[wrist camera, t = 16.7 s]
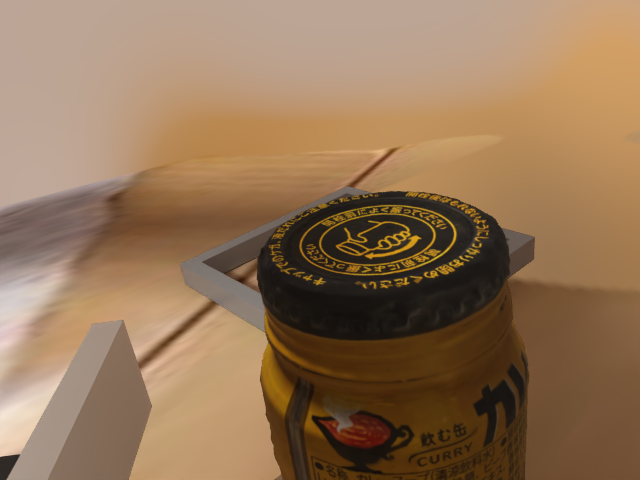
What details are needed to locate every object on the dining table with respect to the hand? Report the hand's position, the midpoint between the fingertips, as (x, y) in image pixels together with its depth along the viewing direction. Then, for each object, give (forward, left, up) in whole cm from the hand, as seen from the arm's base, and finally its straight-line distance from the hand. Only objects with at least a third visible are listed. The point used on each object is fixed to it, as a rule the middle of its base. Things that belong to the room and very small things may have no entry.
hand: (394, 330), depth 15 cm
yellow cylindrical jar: (+2, -1, -9) cm, 9 cm away
